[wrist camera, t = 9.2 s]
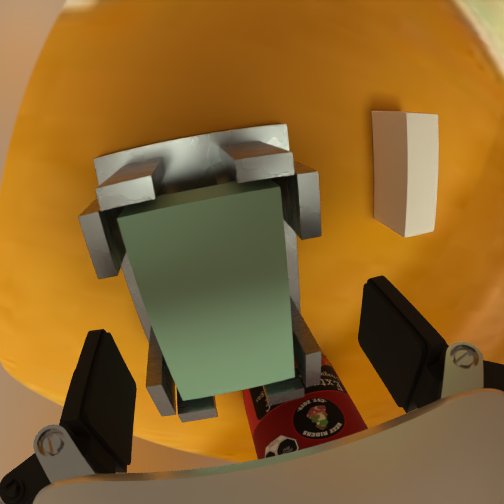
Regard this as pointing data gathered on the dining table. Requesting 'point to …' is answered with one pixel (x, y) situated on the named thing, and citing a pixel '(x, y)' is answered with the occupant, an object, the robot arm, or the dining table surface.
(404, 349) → the robot arm
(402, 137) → the block
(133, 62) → the dining table surface
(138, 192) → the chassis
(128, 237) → the board
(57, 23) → the dining table surface
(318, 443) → the canned food
